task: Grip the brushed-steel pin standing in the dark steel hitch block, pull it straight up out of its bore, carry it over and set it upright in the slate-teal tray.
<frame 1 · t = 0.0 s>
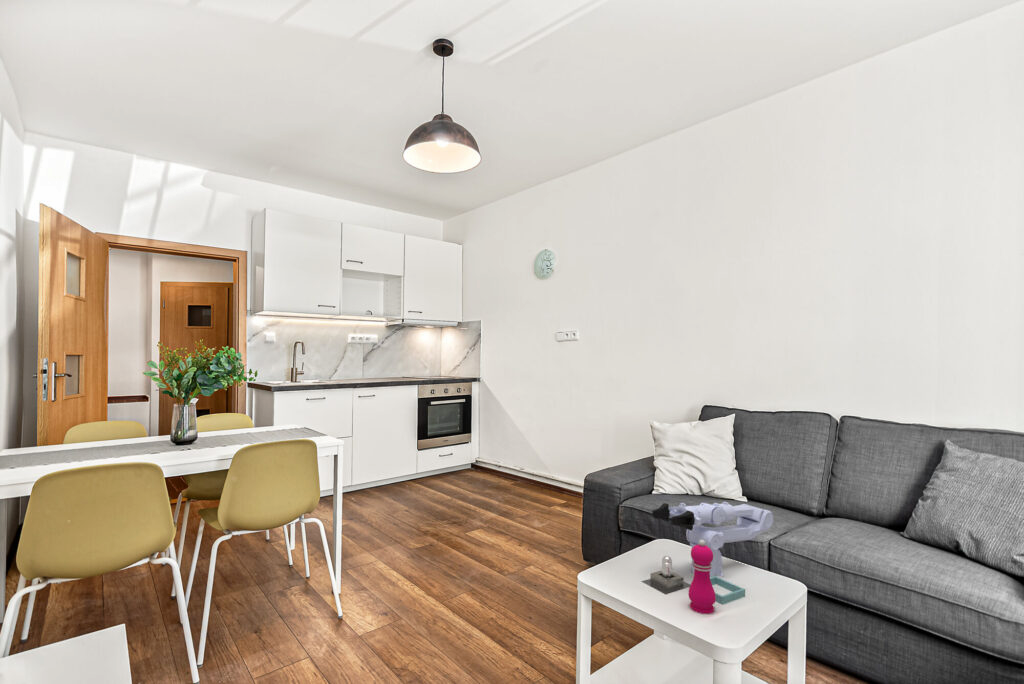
hand: (662, 517, 155), 22 cm above the table, tool horizontal, fingers open, 7 cm apart
hitch plate: (666, 586, 156), on the table
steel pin: (666, 583, 156), point 1 cm above the table, touching hitch plate
tray: (718, 596, 150), on the table
pepper mill: (701, 612, 140), on the table
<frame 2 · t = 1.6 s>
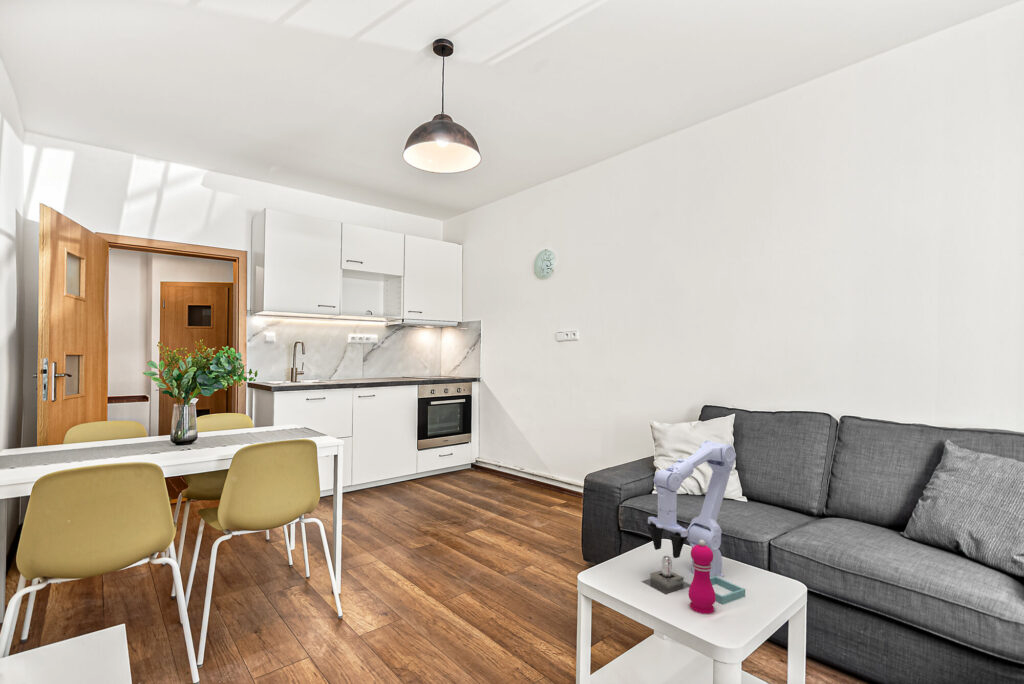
hand: (666, 553, 156), 10 cm above the table, tool pointing down, fingers open, 7 cm apart
nothing on the table moved.
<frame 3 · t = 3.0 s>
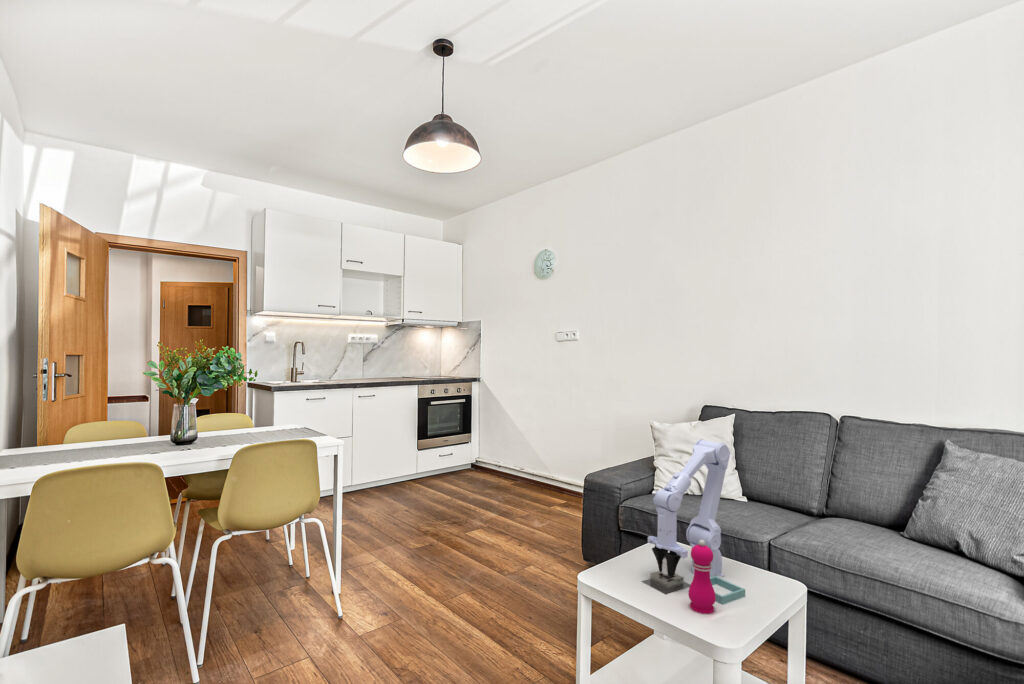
hand: (666, 573, 156), 4 cm above the table, tool pointing down, fingers closed on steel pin, 3 cm apart
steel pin: (666, 583, 156), point 1 cm above the table, touching gripper, hitch plate
everything else where it was.
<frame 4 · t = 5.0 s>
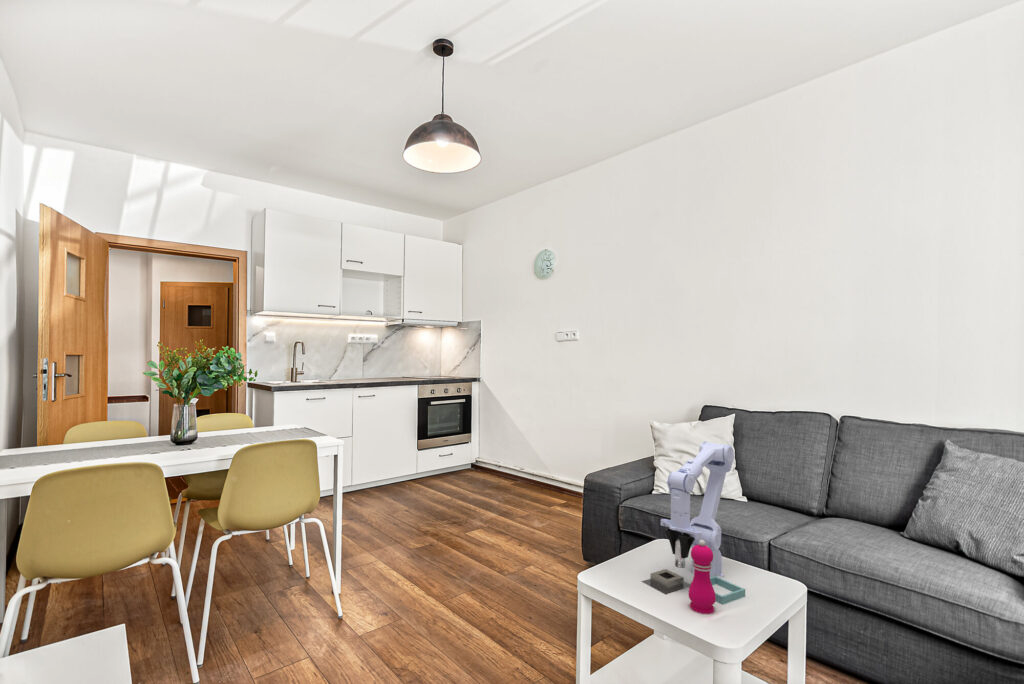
hand: (680, 555, 154), 10 cm above the table, tool pointing down, fingers closed on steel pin, 3 cm apart
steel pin: (679, 566, 154), point 7 cm above the table, touching gripper
everything else where it was.
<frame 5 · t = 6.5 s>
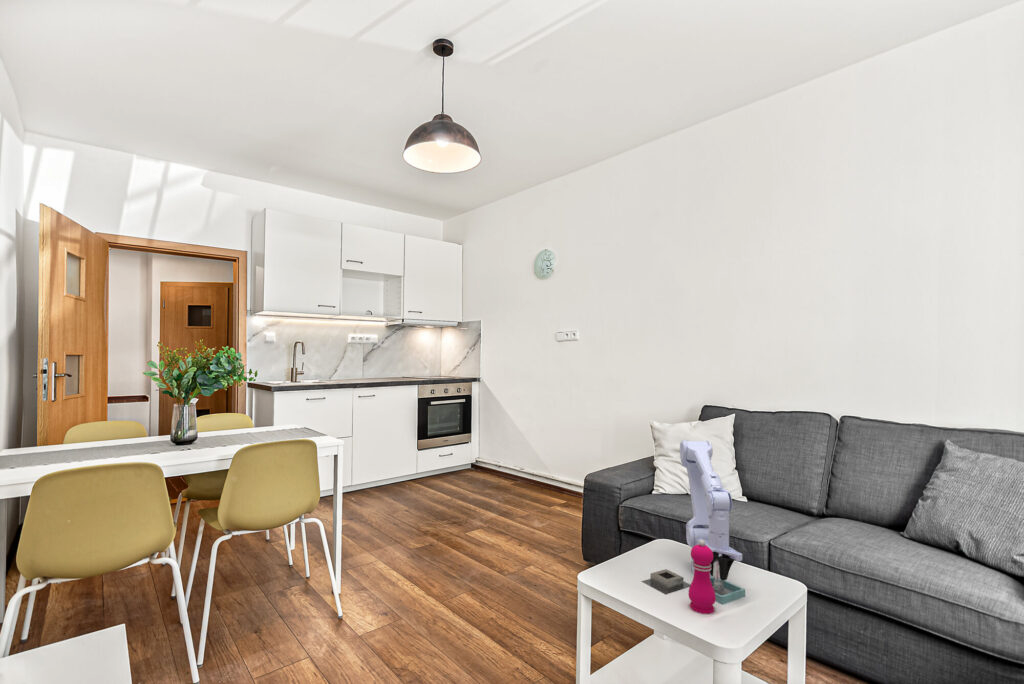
hand: (718, 577, 150), 6 cm above the table, tool pointing down, fingers closed on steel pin, 3 cm apart
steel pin: (718, 588, 150), point 2 cm above the table, touching gripper
everything else where it was.
when the fingers open (5 cm above the table, at t = 7.4 s): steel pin drops 1 cm, resting on tray.
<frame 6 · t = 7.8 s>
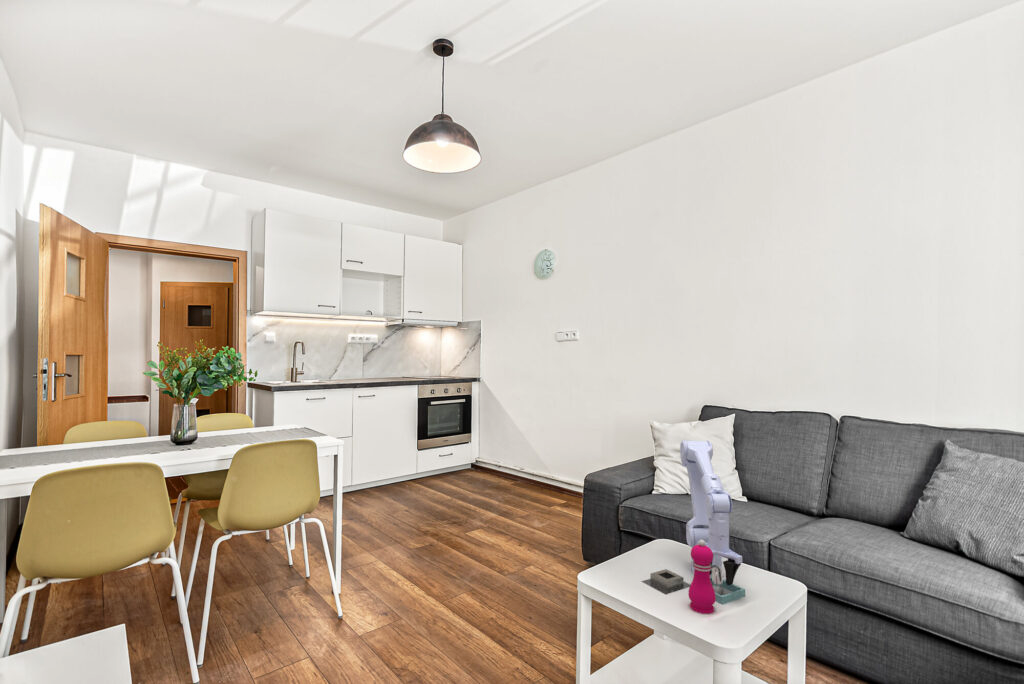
hand: (718, 579, 150), 5 cm above the table, tool pointing down, fingers open, 7 cm apart
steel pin: (718, 594, 150), point 1 cm above the table, touching tray
everything else where it was.
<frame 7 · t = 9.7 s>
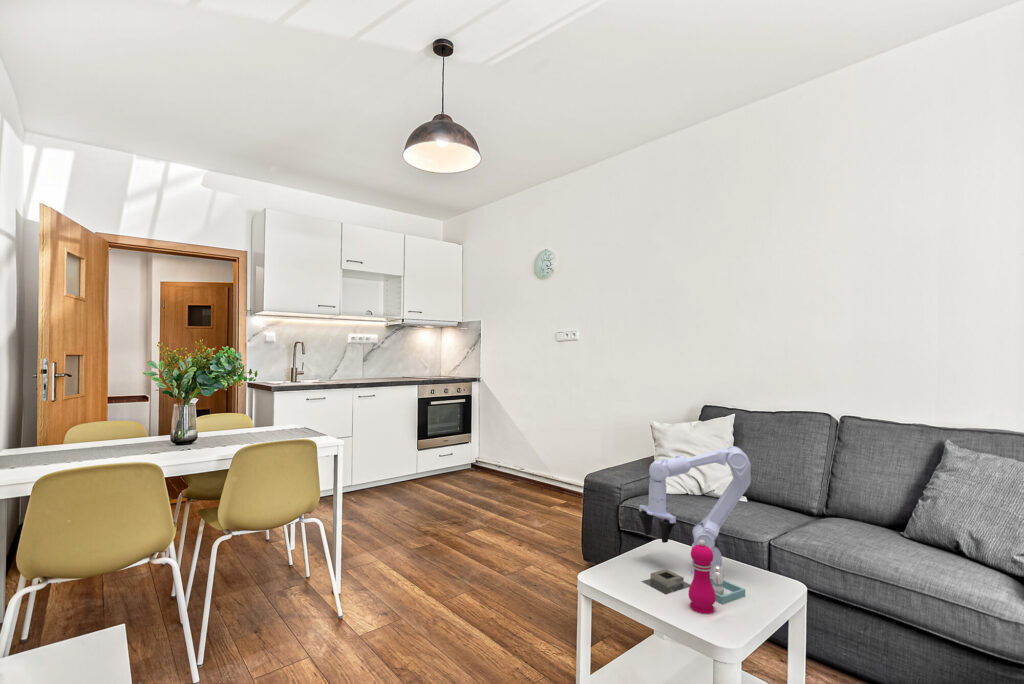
hand: (656, 538, 169), 10 cm above the table, tool pointing down, fingers open, 7 cm apart
nothing on the table moved.
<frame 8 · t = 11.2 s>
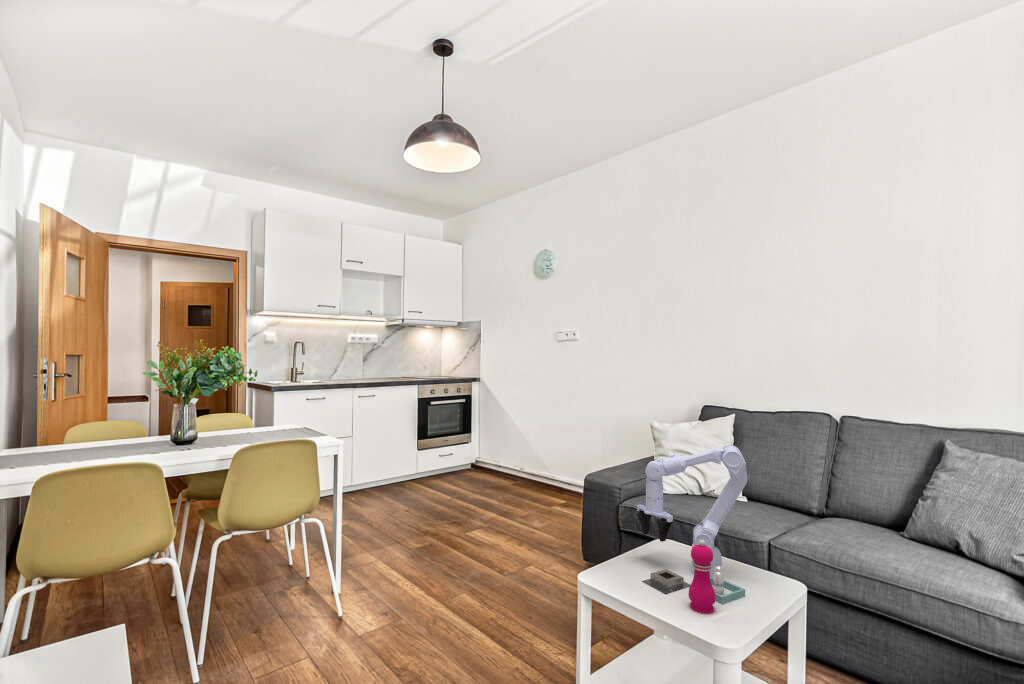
hand: (654, 537, 170), 10 cm above the table, tool pointing down, fingers open, 7 cm apart
nothing on the table moved.
at the end: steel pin inside the target area on the tray (0.2 cm from its centre), point 0.6 cm above the tray's base; the gripper is holding nothing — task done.
